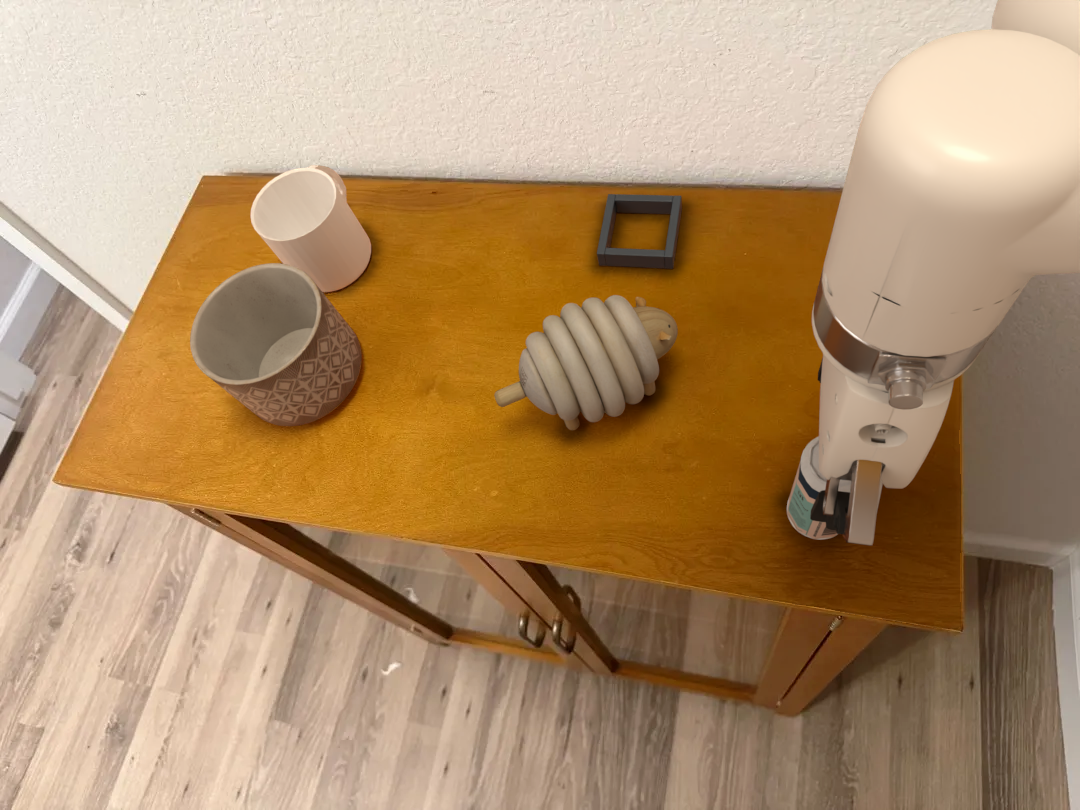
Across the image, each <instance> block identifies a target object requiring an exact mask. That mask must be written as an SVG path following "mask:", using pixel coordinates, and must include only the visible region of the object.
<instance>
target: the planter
mask: <svg viewBox="0 0 1080 810" xmlns="http://www.w3.org/2000/svg"><path fill="white" fill-rule="evenodd" d="M189 344H190V345H189V346H190V352H191V355H192V358H193V361H194V362H195V365H196V367H197V368H198V369H199V370H200V371H201V372H202V373H203V374H204V375H206V377H208V378H209V379H210V380H212V381H213V382H214V383H216V385H218V386H219V387H221V389H223V390H224V391H225V392H226V393H228V394H229V395H231V396H232V397H233V398H234V399H235V400H237V401H238V402H239V403H241V404H242V405H243V406H244V407H246V408H247V409H248V410H250V411H251V412H252V413H253V414H254V415H255V416H257V417H258V418H260V419H261V420H263V421H264V422H267V423H269V424H272V425H275V426H280V427H298V426H303V425H307V424H310V423H313V422H316V421H318V420H320V419H322V418H324V417H326V416H327V415H329V414H330V413H332V412H333V411H334V410H335V409H337V408H338V407H339V406H340V405H341V404H342V403H343V402H344V401H345V400H346V399H347V397H348V396H349V395H350V393H351V392H352V390H353V388H354V387H355V384H356V383H357V381H358V378H359V375H360V372H361V367H362V358H363V357H362V355H363V354H362V347H361V344H360V340H359V338H358V336H357V335H356V333H355V331H354V330H353V328H352V327H351V326H350V325H349V323H348V322H347V321H346V320H345V318H344V317H343V316H342V315H341V314H340V312H339V311H338V310H337V309H336V307H335V306H334V305H333V303H332V302H331V301H330V300H329V298H328V297H327V296H326V295H325V293H324V292H322V291H321V290H320V288H319V287H318V286H317V285H316V283H315V282H314V281H313V280H312V278H311V277H310V276H309V275H307V274H306V273H305V272H304V271H302V270H300V269H299V268H296V267H294V266H291V265H287V264H283V263H280V262H271V263H270V262H268V263H263V264H262V263H261V264H256V265H252V266H250V267H247V268H245V269H242V270H240V271H238V272H235V273H234V274H233V275H231V276H229V277H228V278H226V279H225V280H223V281H222V282H221V283H220V284H219V285H217V286H216V287H215V289H213V290H212V291H211V292H210V294H209V295H208V296H207V297H206V298H205V299H204V301H203V302H202V304H201V305H200V307H199V309H198V311H197V313H196V315H195V317H194V319H193V322H192V326H191V330H190V337H189Z"/></svg>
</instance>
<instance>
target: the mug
mask: <svg viewBox="0 0 1080 810" xmlns="http://www.w3.org/2000/svg"><path fill="white" fill-rule="evenodd" d="M347 199H348V198H347V186H346V185H345V183H344V180H343V179H342V176H341V175H339V174H338V172H336V171H335V170H334V169H333V168H331V167H329V166H326V165H320V164H311V165H309V166H307V167H298V168H294V169H289V170H287V171H285V172H281V173H280V174H279V175H277V176H275V177H273V178H272V179H271V180H269V181H268V182H267V183H266V184H265V185H264V186H262V188H261V189H260V191H259V192H258V193H257V194H256V196H255V197H254V200H253V202H252V205H251V208H250V216H249V217H250V221H251V225H252V227H253V229H254V231H255V232H256V234H258V236H259V237H260V238H261V239H262V240H263V242H264V243H265V244H266V245H267V246H268V247H269V249H270V250H271V251H272V253H274V255H276V257H277V258H278V259H279V260H280V262H281V264H287V265H291V266H294V267H296V268H299V269H300V270H302V271H304V272H305V273H306V274H307V275H309V276H310V277H311V278H312V280H313V281H314V282H315V283H316V285H317V286H318V287H319V288H320V290H321V291H322V292H323V293H332V292H336V291H339V290H342V289H345V288H346V287H348V286H350V285H351V284H353V283H354V282H355V281H356V280H357V279H359V278H360V277H361V276H362V274H363V273H364V271H365V270H366V269H367V267H368V265H369V262H370V260H371V259H370V258H371V255H372V243H371V240H370V238H369V236H368V234H367V232H366V230H365V229H364V228H363V226H362V224H361V223H360V221H359V219H358V218H357V216H356V215H355V213H354V212H353V210H352V208H351V207H350V205H349V204H348V202H347V201H348V200H347Z"/></svg>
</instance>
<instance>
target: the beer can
mask: <svg viewBox="0 0 1080 810" xmlns="http://www.w3.org/2000/svg"><path fill="white" fill-rule="evenodd" d="M826 482H827V479H826V478H825V477H824V476H823V475H822V474H821V472H820V471H819V435H818V436H816V437H815V438H813V439H811V440H810V441H809V442H808V443H807V444H806V446H805V448H803V450H802V453H801V456H800V460H799V464H798V467H797V470H796V475H795V476H794V480H793V484H792V486H791V490H790V493H789V496H788V500H787V502H786V504H787V505H786V515H787V518H788V520H789V522H790V525H791V526H792V528H794V529H795V530H796V531H797V533H799V534H801V535H802V536H804V537H807V538H809V539H812V540H817V541H818V540H820V541H822V540H828V539H832V538H834V537H836V536H838V535H839V534H837V533H836V531H835V530H830V529H827V528H826V522H819V521H813V520H811V519H810V515H811V509H812V507H813V505H814V502H815V500H816V498H817V496H818V493H819V492H820V491H822V490H825V488H826ZM850 488H851V481H849V480H841V479H840V482H839V488H838V491H842V492H850Z"/></svg>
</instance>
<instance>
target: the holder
mask: <svg viewBox="0 0 1080 810" xmlns="http://www.w3.org/2000/svg"><path fill="white" fill-rule="evenodd" d="M682 198H683V197H682V195H663V194H662V195H661V194H624V193H623V194H621V193H618V194H617V193H616V194H615V193H608V194H607V197H606V203H605V204H606V205H605V209H604V213H603V218H602V219H603V220H602V223H601V229H600V235H599V239H598V243H597V244H598V246H597V250H596V257H597V261H598V266H604V267H605V266H606V267H607V266H608V267H624V268H625V267H626V268H645V269H667V270H673V269H674V267H675V259H676V254H677V245H678V241H679V240H678V239H679V231H680V225H681V217H682V211H683V199H682ZM618 213H619V214H649V215H650V214H651V215H652V214H653V215H655V214H656V215H669V222H668V229H667V235H666V242H665V249H645V248H623V247H622V248H621V247H611V245H612V240H613V234H614V229H615V224H616V223H615V222H616V217H617V214H618Z"/></svg>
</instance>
